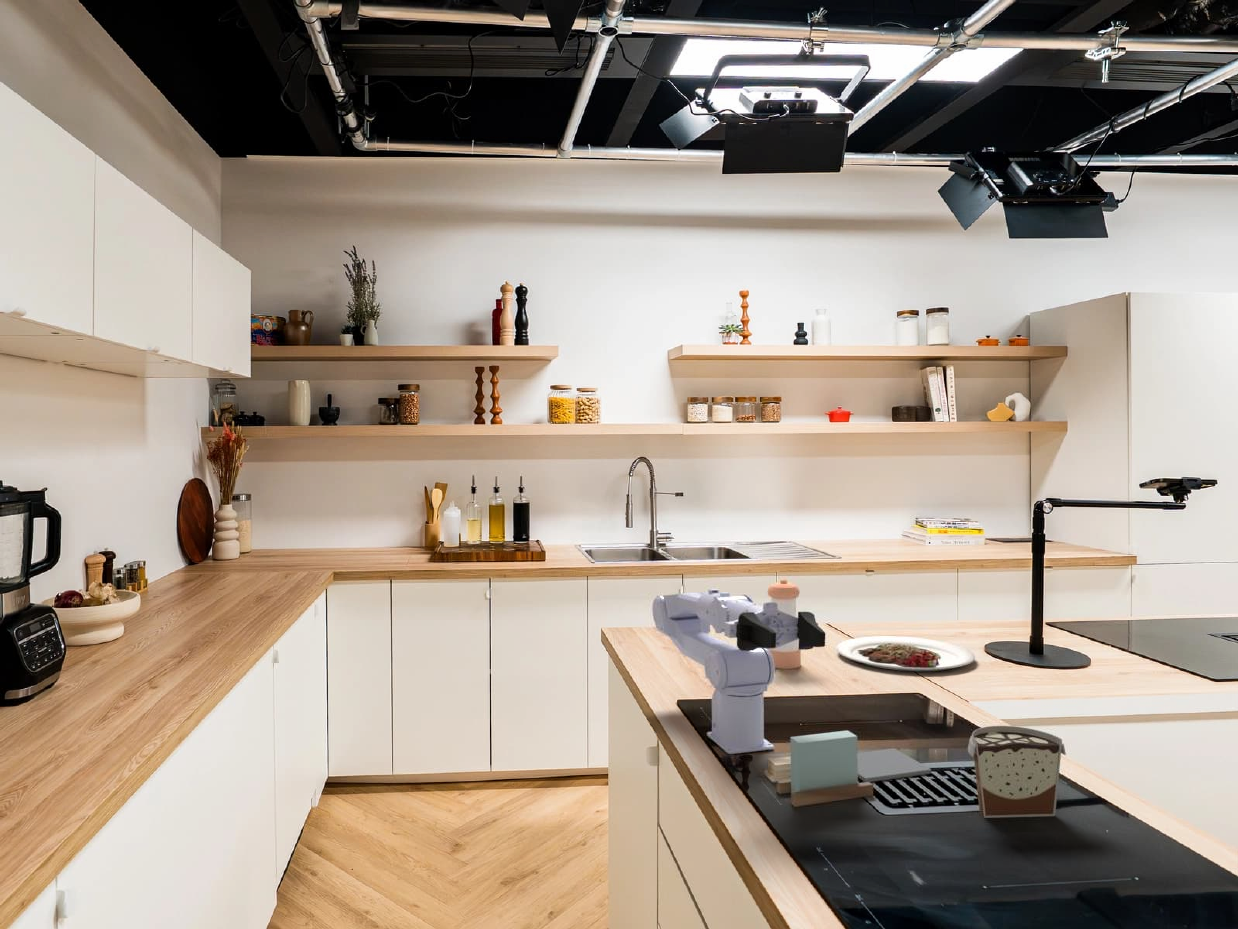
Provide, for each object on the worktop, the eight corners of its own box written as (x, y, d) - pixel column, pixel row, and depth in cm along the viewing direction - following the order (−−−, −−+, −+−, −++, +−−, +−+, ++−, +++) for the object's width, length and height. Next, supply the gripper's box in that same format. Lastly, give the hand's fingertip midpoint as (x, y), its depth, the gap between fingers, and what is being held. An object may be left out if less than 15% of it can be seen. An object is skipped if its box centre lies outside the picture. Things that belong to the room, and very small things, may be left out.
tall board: (791, 794, 113) (790, 737, 113) (848, 786, 115) (847, 730, 115) (799, 801, 110) (799, 743, 110) (857, 793, 113) (857, 736, 113)
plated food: (892, 638, 208) (892, 625, 208) (1002, 662, 182) (1002, 647, 182) (809, 655, 191) (809, 641, 191) (918, 684, 166) (918, 668, 166)
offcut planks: (764, 776, 120) (764, 758, 120) (826, 770, 122) (826, 752, 122) (772, 784, 117) (772, 765, 117) (835, 777, 119) (835, 759, 119)
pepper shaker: (798, 660, 185) (797, 577, 185) (802, 669, 178) (802, 582, 178) (766, 660, 186) (765, 577, 186) (769, 668, 178) (768, 582, 178)
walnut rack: (776, 791, 114) (776, 780, 114) (851, 780, 117) (851, 770, 117) (794, 806, 109) (794, 795, 109) (873, 795, 112) (872, 784, 112)
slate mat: (832, 760, 125) (832, 756, 125) (894, 752, 128) (894, 748, 128) (865, 782, 116) (865, 778, 116) (931, 773, 119) (931, 769, 119)
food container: (1040, 795, 111) (1039, 723, 111) (1066, 815, 105) (1065, 739, 105) (951, 798, 111) (951, 725, 111) (972, 818, 105) (972, 741, 105)
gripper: (713, 597, 125) (752, 611, 111) (798, 597, 129) (845, 610, 115) (712, 643, 124) (750, 663, 111) (796, 642, 128) (843, 660, 115)
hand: (798, 639), depth 113 cm, fingers open, 7 cm apart
